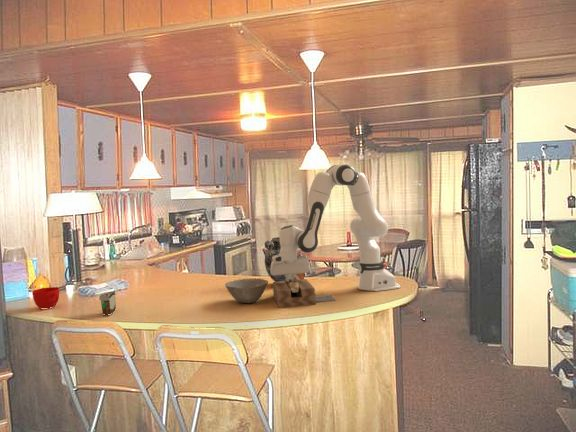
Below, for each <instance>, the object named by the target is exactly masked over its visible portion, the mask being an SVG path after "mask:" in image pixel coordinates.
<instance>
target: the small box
mask: <svg viewBox="0 0 576 432" xmlns="http://www.w3.org/2000/svg"><path fill="white" fill-rule="evenodd" d="M292 277H293V276H292V274H288V279H292ZM302 279H305V273H301V274H295V277H294V279H293V280H302ZM286 281H287V278H286Z"/></svg>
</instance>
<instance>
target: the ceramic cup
mask: <svg viewBox="0 0 576 432" xmlns="http://www.w3.org/2000/svg"><path fill="white" fill-rule="evenodd" d="M59 297H60V288H59V287H57V286H51V287H42V288H37V289H33V291H32V298H33V302H34V304H35V305H36V306H37V307H38V308H39V309H40V308H50V307H53V306H54V307H56V305H57V304H58V302H59V299H60V298H59Z"/></svg>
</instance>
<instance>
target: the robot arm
mask: <svg viewBox="0 0 576 432" xmlns="http://www.w3.org/2000/svg"><path fill="white" fill-rule="evenodd" d="M335 186H347V188H348V190H349V195H350V199H351V203H352V207H353V210H354V211H355V212H356V213H357V215H359V216H358V217H355V218H353V219H352V220H351V222H350V227H349V228H350V231H351V232H352V233H353V235H354V237H355V238H356V242H357V245H358V250H359V252H358V253H359V263H358V265H359V266H358V268H359V274H360V275H359V283H358V286H357V288H358V289H359V290H362V291H369V292H370V291H371V292H382V291H389V290H396V289H400V288H401V285H400V284H399V283H398V282H397V280H396V277H395V275H394V274H393V273H391V272H390V271H389V270H387V269H386V267H387V266H388V264H387V263H386V262H383V261H381V248H380V246H379V244H377V241H376V240H375V239H377V238H381V237H385V236H386V235H387V233H388V231H389V224H388V222H387V221H386V219H384V218H383V217H382V215H381V214H380V212H379V211H378V209H377V207H376V205H375V202H374V197H373V195H372V192H371V187H370V183H369V182H368V179H367V176H366V175H365V173H363V172H361V171H359V172H358V171H356V170H355V168H354V167H353V166H352V165H349V164H342V163H340V164H334V165H332V166H330V167H329V168H328V169H327V170H326V171H319V172H318V173H316V175H315V176H314V178H313V181H312V182H311V185H310V188H309V191H308V195H307V206H308V208H309V214H308V215H309V216H308V219H307V221H306V222H307V223H306V226H305V229H301V228H299V227H297V226H295V225H293V224H291V225H285V226H283V227H281V228H280V230H279V237H280V245H281V249H280V254H277V255H275V256H273V257H272V260H273V261H272V263H271V270H270V272H271V275H272V276H275V275H285V277H286V278H287V282H288V283H290V282H293V279H294V277H295V274H301V273H304V274H308V273H309V272H310V267H309V262H310V258H309V257H308V256H307V255H298V249H299V250H301V251H302V252H304V253H312V252H314V251H315V250H316V249H317V247H318V245H319V239H318V238H319V237H318V233H319V228H320V225H321V222H322V221H321V220H322V217H323V215H324V211H325V209H326V206H327V205H328V203H329V200H330V197H331V193H332V190H333V188H334V187H335ZM288 274H292V276H293V277H292V279H288Z"/></svg>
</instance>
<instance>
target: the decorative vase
mask: <svg viewBox="0 0 576 432" xmlns="http://www.w3.org/2000/svg"><path fill="white" fill-rule="evenodd" d="M264 248H265V249H267V251H266V253H265V254H264V267H265V270H266V272H267V275H268V277H270V278H271V280H273V282H278V281H286V277H285V275H275V276H272V275H271V272H270V270H271V263H272V261H273V260H272V257H273V256H275V255H277V254H280V249H281V245H280V236H279V237H272V238H271V240H269V239H268V240H266V241H265V242H264Z"/></svg>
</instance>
